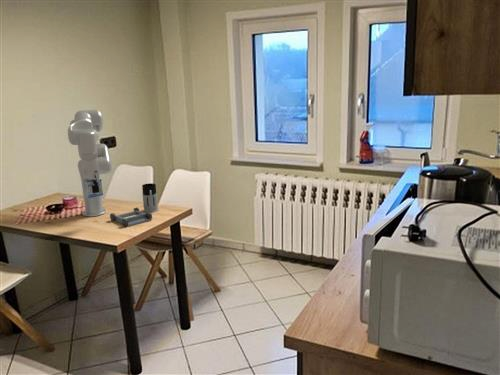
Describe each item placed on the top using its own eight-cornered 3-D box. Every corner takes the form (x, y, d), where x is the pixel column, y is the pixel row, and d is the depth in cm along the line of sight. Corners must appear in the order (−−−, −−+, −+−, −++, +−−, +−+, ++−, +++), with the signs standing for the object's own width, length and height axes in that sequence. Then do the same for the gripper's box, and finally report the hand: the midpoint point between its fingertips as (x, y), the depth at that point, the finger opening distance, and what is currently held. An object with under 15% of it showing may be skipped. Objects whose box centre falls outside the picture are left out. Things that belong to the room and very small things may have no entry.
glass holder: (157, 207, 246) (155, 182, 242) (160, 214, 233) (158, 188, 229) (142, 209, 243) (140, 184, 240) (144, 216, 230) (142, 189, 227)
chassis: (110, 220, 224) (109, 213, 223) (136, 213, 235) (135, 206, 234) (126, 227, 213) (125, 219, 212) (152, 220, 223) (151, 212, 222)
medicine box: (88, 198, 210) (86, 181, 207) (84, 196, 213) (82, 180, 211) (103, 195, 215) (101, 178, 212) (99, 193, 218) (98, 177, 216)
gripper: (75, 155, 212) (79, 190, 216) (89, 159, 200) (93, 196, 205) (89, 153, 217) (93, 187, 222) (104, 157, 205) (108, 193, 210)
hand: (93, 191), depth 213 cm, fingers closed on medicine box, 4 cm apart
